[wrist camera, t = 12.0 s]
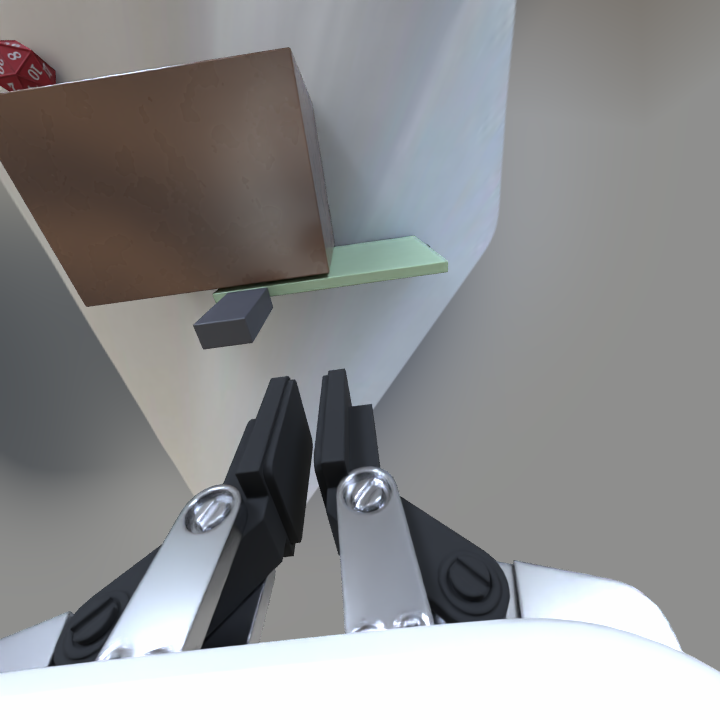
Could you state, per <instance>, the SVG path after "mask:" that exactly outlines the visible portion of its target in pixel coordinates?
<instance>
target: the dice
mask: <svg viewBox="0 0 720 720" xmlns="http://www.w3.org/2000/svg"><path fill="white" fill-rule="evenodd" d="M54 84H56V75H55V70H54V69H52V68H51V67H50V66H49V65H48V64H47V63H46V62H44V61H43V60H42V59H41V58H40V57H39V56H38V55H36V54H35V53H34V52H33V51H32V50H30V49H29V48H27V47H25V46H24V45H22V44H21V43H19V42H17V41H16V40H0V86H2V87H3V88H5V89H6V90H8V91H9V92H10V91H17V90H23V89H29V88H35V87H42V86H48V85H54Z"/></svg>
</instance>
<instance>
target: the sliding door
mask: <svg viewBox="0 0 720 720" xmlns="http://www.w3.org/2000/svg"><path fill="white" fill-rule="evenodd" d="M444 272H448V261H447V260H446V259H444V258H443V257H442V256H440V255H439V254H438V253H436V252H435V251H434V250H432V249H431V248H430V247H428V246H427V245H426V244H424V243H423V242H422V241H420V240H419V239H418V238H416V237H415V236H408V237H401V238H394V239H387V240H380V241H372V242H365V243H358V244H351V245H344V246H337V247H334V248H333V254H332V260H331V266H330V271H329V273H326V274H319V275H312V276H304V277H297V278H290V279H283V280H276V281H269V282H262V283H254V284H247V285H240V286H233V287H226V288H219V289H218V290H217V291H216V292H214V293H213V297H214V299H215V302H216V304H215V305H214V306H213V307H212V308H211V309H210V310H209V311H208V312H207V313H205V314H204V315H203V316H202V317H201V318H200V319H199V320H198V321H197V322H196V323H195V324H194V325H193V326H194V329H195V331H196V333H197V336H198V338H199V341H200V343H201V345H202V348H203V349H210V348H217V347H225V346H232V345H240V344H247V343H253V341H254V340H255V338H256V336H257V334H258V333H259V331H260V329H261V328H262V326H263V324H264V322H265V321H266V319H267V317H268V315H269V314H270V312H271V310H272V308H273V305H272V302H271V298H270V297H271V296H278V295H285V294H293V293H300V292H307V291H314V290H321V289H329V288H336V287H343V286H350V285H358V284H365V283H372V282H379V281H386V280H394V279H401V278H408V277H415V276H423V275H430V274H437V273H444Z"/></svg>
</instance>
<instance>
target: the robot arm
mask: <svg viewBox="0 0 720 720" xmlns="http://www.w3.org/2000/svg"><path fill="white" fill-rule="evenodd" d="M312 450H313V443H312V437H311V433H310V430H309V426H308V422H307V419H306V415H305V411H304V408H303V404H302V400H301V397H300V393H299V389H298V386H297V382H296V380H290V378H289V376H285V377H278V378H272V379H271V380H270V382H269V385H268V388H267V390H266V393H265V396H264V398H263V401H262V404H261V406H260V409H259V412H258V414H257V417H256V419H251V420H250V421H249V422H248V424H247V426H246V429H245V431H244V434H243V436H242V439H241V441H240V443H239V446H238V448H237V451H236V453H235V456H234V458H233V461H232V463H231V466H230V468H229V471H228V473H227V476H226V478H225V481H224V483H223V484H220V485H215V486H212V487H209V488H207V489H204V490H203V491H201V492H200V493H198V494H197V495H195V496H194V497H193V498H192V499H191V500H190V501H189V502H188V503H187V504H186V506H185V507H184V508H183V510H182V511H181V513H180V514H179V516H178V518H177V520H176V521H175V523H174V525H173V526H172V528H171V530H170V531H169V533H168V535H167V537H166V538H165V540H164V542H163V544H162V545H160V546H159V547H158V548H156V549H155V550H154V551H152V552H151V553H150V554H148V555H147V556H146V557H145V558H143V559H142V560H141V561H139V562H138V563H137V564H135V565H134V566H133V567H131V568H130V569H129V570H127V571H126V572H125V573H123V574H122V575H121V576H119V577H118V578H117V579H115V580H114V581H113V582H111V583H110V584H109V585H107V586H106V587H105V588H103V589H102V590H101V591H99V592H98V593H97V594H95V595H94V596H93V597H92V598H90V599H89V600H88V601H87V602H86V603H85V604H84V605H82V606H81V607H80V608H79V609H78V611H77V612H76V613H75V614H73V613H72V612H70V611H69V612H66V613H63V614H61V615H59V616H56V617H54V618H51V619H49V620H46V621H44V622H41V623H39V624H36V625H34V626H32V627H29V628H27V629H24V630H22V631H19V632H17V633H14V634H12V635H9V636H7V637H4V638H2V639H0V720H720V672H719V671H717V670H715V669H713V668H712V667H710V666H708V665H707V664H705V663H703V662H701V661H699V660H698V659H696V658H694V657H692V656H690V655H687V654H685V653H683V652H682V649H681V647H680V645H679V643H678V641H677V639H676V636H675V634H674V632H673V630H672V628H671V626H670V624H669V622H668V621H667V619H666V618H665V616H664V615H663V613H662V611H661V610H660V609H659V608H658V607H657V606H656V605H655V604H654V603H653V602H652V601H651V600H650V599H649V598H648V597H647V596H646V595H645V594H643V593H642V592H640V591H638V590H637V589H635V588H634V587H632V586H631V585H629V584H625V583H623V582H620V581H617V580H614V579H609V578H604V577H598V576H593V575H588V574H583V573H578V572H572V571H567V570H562V569H557V568H552V567H546V566H542V565H537V564H531V563H526V562H521V561H516V560H514V561H513V564H508V563H503V562H498V561H496V560H495V559H494V558H492V557H491V556H490V555H489V554H488V553H486V552H485V551H484V550H482V549H481V548H479V547H478V546H476V545H474V544H473V543H471V542H470V541H468V540H467V539H465V538H464V537H462V536H461V535H459V534H457V533H456V532H455V531H453V530H451V529H450V528H448V527H447V526H445V525H444V524H442V523H440V522H439V521H438V520H436V519H434V518H433V517H431V516H430V515H428V514H427V513H425V512H424V511H422V510H421V509H419V508H418V507H416V506H415V505H413V504H411V503H410V502H408V501H407V500H405V499H404V498H402V497H401V496H400V495H399V491H398V487H397V484H396V482H395V480H394V478H393V477H392V476H391V475H390V474H389V473H388V472H387V471H385V470H383V469H381V468H380V462H379V454H378V446H377V438H376V430H375V423H374V416H373V408H372V404H368V405H360V406H352V404H351V398H350V392H349V387H348V381H347V375H346V370H345V369H338V370H331V371H329V372H328V375H325V376H323V379H322V388H321V397H320V405H319V414H318V423H317V432H316V441H315V449H314V468H315V473H316V477H317V480H318V484H319V487H320V491H321V494H322V497H323V501H324V504H325V508H326V513H327V516H328V520H329V523H330V526H331V530H332V533H333V537H334V540H335V544H336V547H337V551H338V554H339V555H340V562H341V578H342V592H343V608H344V622H345V634H341V635H330V636H321V637H312V638H303V639H293V640H283V641H274V642H265V643H259V642H260V637H261V634H262V630H263V626H264V622H265V617H266V614H267V609H268V605H269V601H270V597H271V593H272V589H273V585H274V581H275V573H276V571H275V568H276V567H277V566H278V565H279V564H280V563H281V562H282V559H283V557H288V556H294V549H295V543H300V542H301V540H302V532H303V525H304V517H305V508H306V500H307V492H308V483H309V475H310V467H311V459H312Z"/></svg>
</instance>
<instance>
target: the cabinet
mask: <svg viewBox="0 0 720 720" xmlns="http://www.w3.org/2000/svg"><path fill="white" fill-rule="evenodd" d="M0 161H1V163H2V164H3V166H4V168H5V169H6V171H7V173H8V175H9V176H10V178H11V180H12V181H13V183H14V185H15V187H16V188H17V190H18V192H19V193H20V195H21V197H22V198H23V200H24V202H25V204H26V205H27V207H28V209H29V210H30V212H31V214H32V215H33V217H34V219H35V221H36V222H37V224H38V226H39V227H40V229H41V231H42V232H43V234H44V236H45V238H46V239H47V241H48V243H49V244H50V246H51V248H52V250H53V251H54V253H55V255H56V256H57V258H58V260H59V261H60V263H61V265H62V267H63V268H64V270H65V272H66V273H67V275H68V277H69V278H70V280H71V282H72V284H73V285H74V287H75V289H76V290H77V292H78V294H79V296H80V297H81V299H82V301H83V302H84V304H85V306H86V307H90V306H97V305H104V304H111V303H118V302H126V301H133V300H140V299H147V298H154V297H161V296H169V295H176V294H183V293H190V292H197V291H204V290H211V289H219V288H226V287H233V286H240V285H247V284H254V283H262V282H269V281H276V280H283V279H290V278H297V277H304V276H312V275H319V274H326V273H329V271H330V266H331V260H332V254H333V248H334V243H335V242H334V236H333V230H332V223H331V217H330V211H329V205H328V198H327V192H326V186H325V179H324V173H323V167H322V161H321V154H320V148H319V142H318V135H317V129H316V123H315V117H314V110H313V104H312V101H311V98H310V96H309V93H308V91H307V89H306V86H305V84H304V81H303V79H302V76H301V74H300V71H299V69H298V66H297V64H296V61H295V59H294V56H293V54H292V51H291V49H290V48H289V47H287V48H281V49H275V50H268V51H262V52H256V53H249V54H243V55H237V56H231V57H224V58H218V59H212V60H205V61H199V62H193V63H187V64H180V65H174V66H168V67H161V68H155V69H149V70H142V71H136V72H130V73H124V74H117V75H111V76H105V77H98V78H92V79H86V80H79V81H73V82H67V83H61V84H54V85H48V86H42V87H35V88H29V89H23V90H17V91H10V92H4V93H0ZM426 245H427V246H428V247H430V246H429V245H428V244H426Z"/></svg>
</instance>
